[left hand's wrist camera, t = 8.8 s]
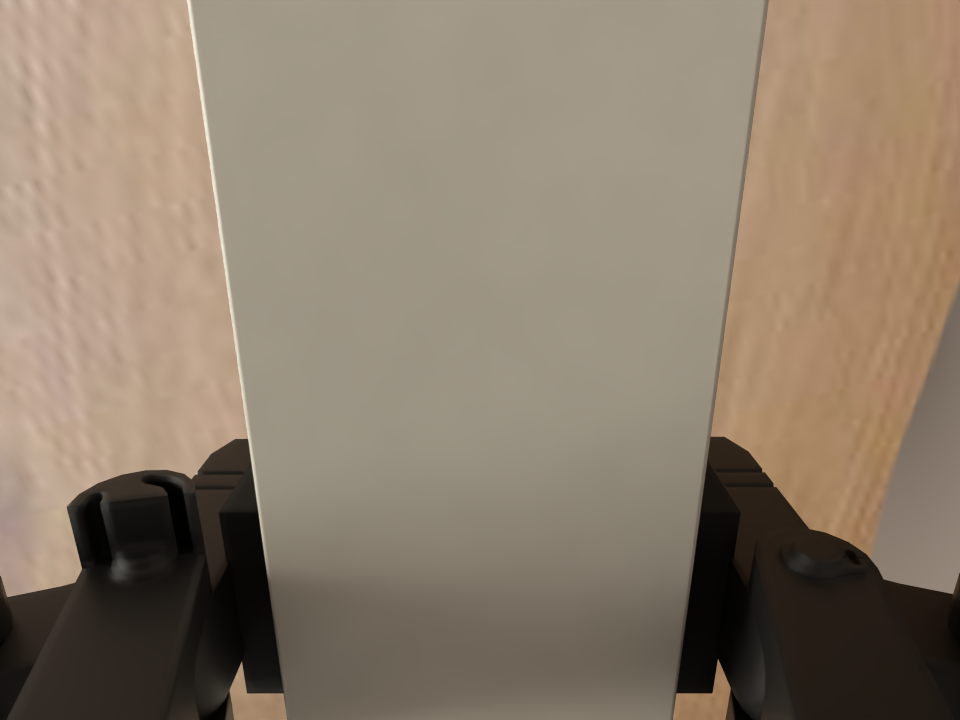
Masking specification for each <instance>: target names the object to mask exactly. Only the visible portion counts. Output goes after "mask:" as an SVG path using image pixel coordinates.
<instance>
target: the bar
mask: <svg viewBox="0 0 960 720" xmlns="http://www.w3.org/2000/svg"><path fill="white" fill-rule="evenodd" d="M768 2H769V0H187V4H188V11H189V18H190V25H191V33H192V40H193V47H194V54H195V61H196V68H197V76H198V83H199V90H200V97H201V104H202V111H203V119H204V126H205V133H206V140H207V147H208V154H209V162H210V169H211V176H212V183H213V190H214V197H215V205H216V212H217V219H218V226H219V233H220V241H221V248H222V255H223V262H224V269H225V276H226V284H227V291H228V298H229V305H230V312H231V319H232V327H233V334H234V341H235V348H236V355H237V362H238V370H239V377H240V384H241V391H242V398H243V405H244V413H245V420H246V427H247V434H248V441H249V448H250V456H251V463H252V470H253V477H254V484H255V491H256V499H257V506H258V513H259V520H260V527H261V535H262V542H263V549H264V556H265V563H266V570H267V578H268V585H269V592H270V599H271V606H272V613H273V621H274V628H275V635H276V642H277V649H278V656H279V664H280V671H281V678H282V685H283V692H284V699H285V707H286V714H287V720H673V714H674V706H675V699H676V691H677V684H678V676H679V669H680V661H681V654H682V646H683V639H684V631H685V624H686V616H687V609H688V601H689V594H690V586H691V579H692V571H693V564H694V556H695V549H696V541H697V534H698V526H699V519H700V511H701V504H702V496H703V489H704V481H705V474H706V466H707V459H708V451H709V444H710V436H711V429H712V422H713V414H714V407H715V399H716V392H717V384H718V377H719V369H720V362H721V354H722V347H723V339H724V332H725V324H726V317H727V309H728V302H729V294H730V287H731V279H732V272H733V264H734V257H735V249H736V242H737V234H738V227H739V219H740V212H741V204H742V197H743V189H744V182H745V174H746V167H747V159H748V152H749V144H750V137H751V129H752V122H753V114H754V107H755V99H756V92H757V84H758V77H759V69H760V62H761V54H762V47H763V39H764V32H765V24H766V17H767V9H768Z"/></svg>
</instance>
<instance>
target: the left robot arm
mask: <svg viewBox="0 0 960 720" xmlns="http://www.w3.org/2000/svg"><path fill="white" fill-rule="evenodd" d="M67 510H68V514H69V518H70V522H71V526H72V530H73V534H74V538H75V542H76V546H77V550H78V554H79V558H80V562H81V566H82V571H81V573H80V575H79V577H78V579H77V581H76V583H73V584H69V585H65V586H61V587H56V588H51V589H46V590H41V591H36V592H31V593H26V594H21V595H16V596H11V597H7V595H6V592H5V589H4V585H3V582H2V579H1V576H0V720H234V717H233V710H232V703H231V697H230V691H229V690H230V687H231V685H232V683H233V680H234V678H235V676H236V673H237V671H238V669H239V666H240V664H241V662H242V664H243V670H244V676H245V683H246V689H247V693H284V692H283V685H282V678H281V671H280V664H279V656H278V649H277V642H276V635H275V628H274V621H273V613H272V606H271V599H270V592H269V585H268V578H267V570H266V563H265V556H264V549H263V542H262V535H261V527H260V520H259V513H258V506H257V499H256V491H255V484H254V477H253V470H252V463H251V456H250V448H249V441H248V439H235V440H233V441H232V442H230V443H228V444H227V445H225V446H223V447H222V448H220V449H219V450H217V451H215V452H214V453H212V454H211V455H210V456H209V458H208V459H207V460H206V462H205V463H204V464H203V465H202V467H201V468H200V469H199V471H198V475H195V476H194V477H193V478H192V480H191V479H190V478H189V477H187V476H186V475H185V474H182V473H178V472H173V471H169V470H145V471H140V472H135V473H129V474H124V475H120V476H117V477H114V478H112V479H109V480H106V481H103V482H100V483H98V484H96V485H94V486H93V487H91V488H89V489H87V490H86V491H84V492H82V493H80V494H79V495H78V496H77V497H76V498H75V499H74V500H73V501H72V502H71V503H70V504H69V505H68V506H67ZM718 659H719V662H720V664H721V666H722V669H723V671H724V673H725V675H726V678H727V680H728V682H729V685H730V687H731V691H730V697H729V703H728V709H727V715H726V720H960V574H959V577H958V580H957V583H956V587H955V590H954V593H953V594H949V593H944V592H939V591H934V590H929V589H924V588H919V587H914V586H909V585H904V584H899V583H895V582H891V581H887V580H884V579H883V578H882V576H881V574H880V572H879V570H878V568H877V567H876V565H875V564H874V563H873V562H872V561H871V559H870V558H869V557H868V556H867V554H865V553H864V552H862V551H861V550H859V549H858V548H856V547H855V546H853V545H852V544H850V543H849V542H847V541H844V540H842V539H840V538H837V537H835V536H832V535H830V534H828V533H825V532H820V531H815V530H811V529H809V528H808V527H807V526H806V524H805V523H804V522H803V520H802V519H801V518H800V517H799V515H798V514H797V513H796V512H795V510H794V509H793V508H792V506H791V505H790V504H789V503H788V501H787V500H786V499H785V498H784V496H783V495H782V494H781V492H780V491H779V490H778V489H777V487H774V486H773V482H772V481H771V480H770V478H769V477H768V476H767V475H766V473H765V472H762V468H761V467H760V466H759V464H758V463H757V462H756V461H755V459H754V458H753V457H752V456H751V454H750V453H749V452H748V451H747V450H745V449H743V448H742V447H740V446H738V445H737V444H735V443H734V442H732V441H730V440H729V439H727V438H725V437H710V444H709V451H708V459H707V466H706V474H705V481H704V489H703V496H702V504H701V511H700V519H699V526H698V534H697V541H696V549H695V556H694V564H693V571H692V579H691V586H690V594H689V601H688V609H687V616H686V624H685V631H684V639H683V646H682V654H681V661H680V669H679V676H678V684H677V691H676V693H712V692H713V686H714V680H715V673H716V667H717V661H718Z"/></svg>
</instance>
